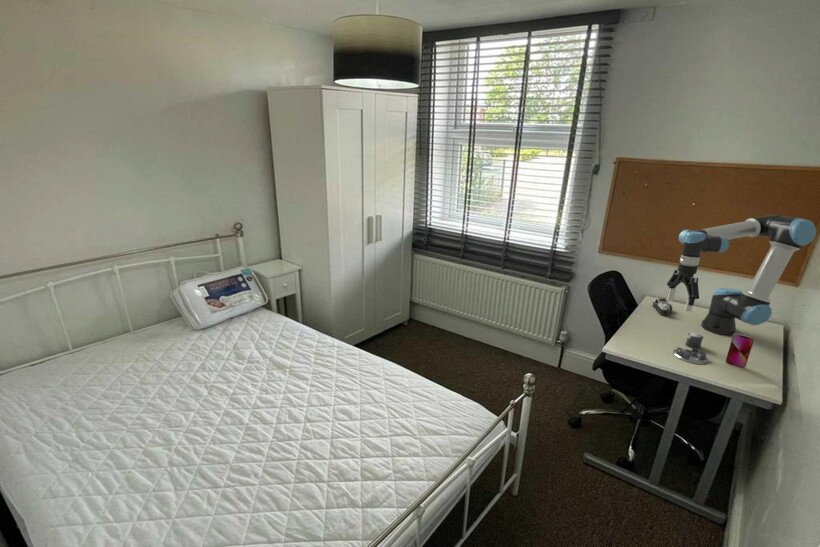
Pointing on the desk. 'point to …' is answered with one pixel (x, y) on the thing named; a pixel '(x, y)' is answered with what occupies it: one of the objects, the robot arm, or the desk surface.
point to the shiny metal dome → (691, 355)
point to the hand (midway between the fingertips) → (678, 305)
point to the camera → (662, 306)
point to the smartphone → (739, 350)
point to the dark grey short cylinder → (694, 340)
